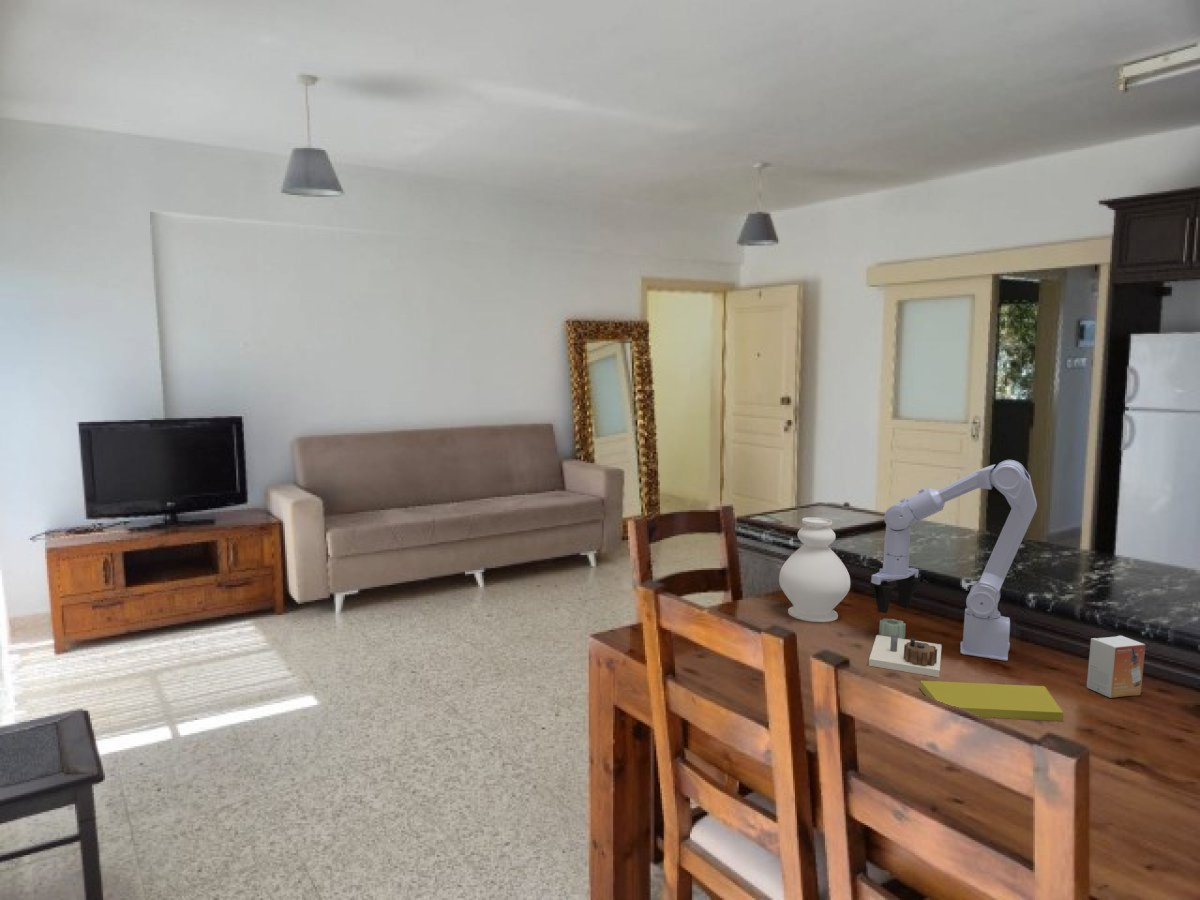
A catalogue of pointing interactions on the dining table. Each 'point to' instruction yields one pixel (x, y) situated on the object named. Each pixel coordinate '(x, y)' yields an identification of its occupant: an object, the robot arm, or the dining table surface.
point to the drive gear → (920, 653)
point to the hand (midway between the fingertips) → (893, 609)
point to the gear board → (900, 656)
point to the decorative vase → (814, 574)
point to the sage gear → (892, 628)
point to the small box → (1115, 666)
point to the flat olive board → (996, 699)
